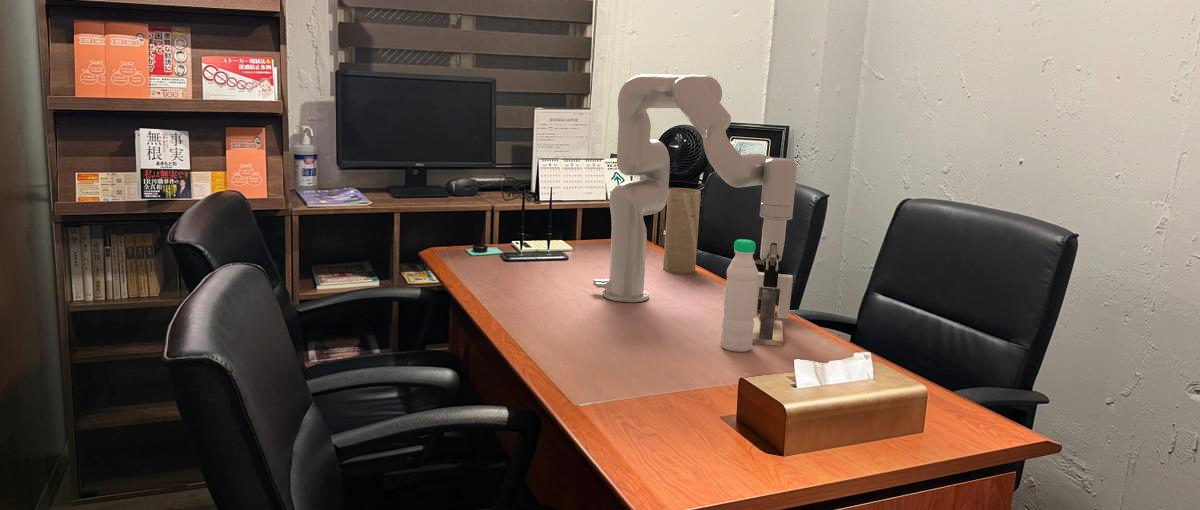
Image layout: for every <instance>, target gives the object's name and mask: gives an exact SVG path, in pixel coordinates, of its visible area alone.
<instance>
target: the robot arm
mask: <svg viewBox="0 0 1200 510" xmlns="http://www.w3.org/2000/svg"><path fill="white" fill-rule="evenodd" d="M619 90H620V91H619V93H618V97H617V112H618V113H617V115H618V117H617V118H618V126H617V127H618V130H617V147H616V149H617V150H616V151H617V152H616V165H617V168H618V169H617V170H618V172H620V173H621V174H622V175H624V176H626V177H627V176H628V177H639V179H638V180H629V181H624V182H621V183H619V184H617V185H615V186H614V188H613V189H612V190H611V192H610V194H609V195H610V196H609V209H610V217H611V233H610V234H611V235H610V236H611V237H610V256H609V257H610V260H609V275H608V276H609V277H608V278H605V279H601V278H600V279H598V278H594V279H593V283H592V285H593V286H594V287H595V288H598V289H601V288H602V289H604V290H602V296H603V297H604V298H605V299H607V300H610V301H614V302H619V303H638V302H640V303H641V302H644V301H647V300H648V299H649V298H650V293H649V291H647V290H645V289H644V288H645V287H644V286H645V285H644V284H645V275H646V274H645V273H646V272H645V271H646V270H645V269H646V259H647V258H646V256H647V254H646V253H647V239H648V238H647V237H648V236H647V235H648V234H647V231H648V230H647V226H646V224H645V220H644V216H648V215H654V214H657V213H660V212H661V211H662V210H663V209H664V208H665V207H666V206H667V200H668V189H669V182H670V166H671V165H670V163H671V162H670V161H671V160H670V159H671V158H670V155H669V151H668V148H667V146H666V145H665V144H664V143H663V142H662V141H660V140H658V139H654V138H653V139H652V138H651V129H652V128H651V127H652V124H651V118H650V116H649V114H648V112H647V110H649V109H679V110H680V111H681V112H682V114H683V115H684V116H685V117H686V118H687V120H688V121H689V122H690V123H691V125H692V126H693V127H694V129H695V130H696V131H697V132H698V134H699V135H700V137H702V145H703V150H704V152H705V155H706V158H707V161H708V162H709V164H710V165H711V167H712V168H713V169H714V171H715V172H716V173H717V174H718V176H719V177H720V178H721V180H723V181H724V182H725V183H726V184H727V185H729V186H731V187H733V188H746V187H753V186H754V187H755V186H761V197H760V209H759V217H760V218H762V219H763V223H762V228H761V240H760V241H761V242H760V243H761V244H760V253H759V254H760V256H759V257H760V259H759V260H766V261H765V262H764V282H763V286H764V287H772V288H776V287H777V283H778V274H780V273H779V271H780V270H779V271H778V267H779V262H781V261H782V257H783V252H784V246H785V241H786V232H787V231H786V229H787V221H790V220H793V216H794V215H793V214H794V203H795V194H796V193H795V192H796V183H797V173H798V163H797V162H796V161H795V160H793V159H790V158H786V157H772V156H769V155H766V154H762V153H750V154H748V153H747V154H741V153H740V152H739V151H738V150H737V149H736V148H735V146H734V145H733V144H732V143H731V141H730V139H729V136H727V130H728V129H729V127H730V125H731V122H732V117H731V114H730V112H728V110H727V109H726V108H725V107H724V106H723V105H722V103H721V100H722V97H723V89H722V86H721V84H720V82H719V81H718V80H717V79H716V78H714V77H713V76H709V75H700V74H699V75H698V74H689V75H675V74H674V75H673V74H651V73H649V74H640V75H636V76H633V77H630V78H629V79H628V80H627V81H626V82H624V84H623V85H622V86H621V88H620V89H619Z"/></svg>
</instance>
